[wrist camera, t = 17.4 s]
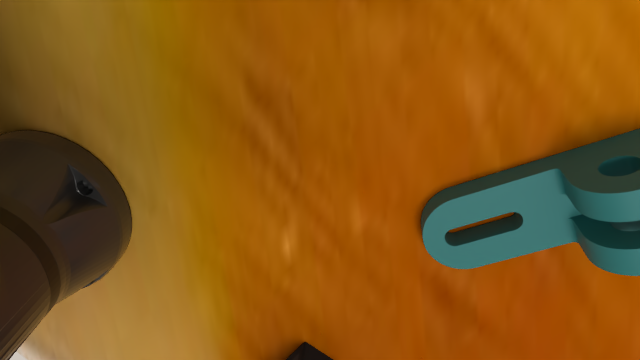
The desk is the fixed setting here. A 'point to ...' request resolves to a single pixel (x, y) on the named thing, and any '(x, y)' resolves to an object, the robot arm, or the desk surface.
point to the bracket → (545, 209)
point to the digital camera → (308, 353)
